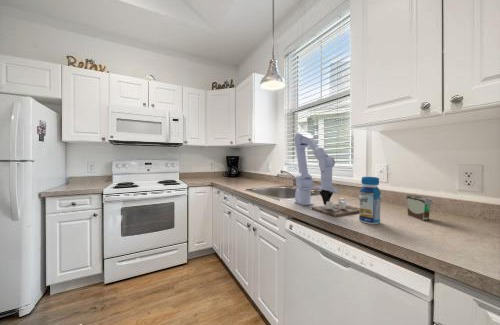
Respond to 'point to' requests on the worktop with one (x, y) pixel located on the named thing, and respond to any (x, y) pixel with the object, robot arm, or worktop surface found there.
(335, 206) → the switch board
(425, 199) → the food container
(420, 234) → the worktop surface
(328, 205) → the knob
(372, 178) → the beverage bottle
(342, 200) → the knob
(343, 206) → the knob
